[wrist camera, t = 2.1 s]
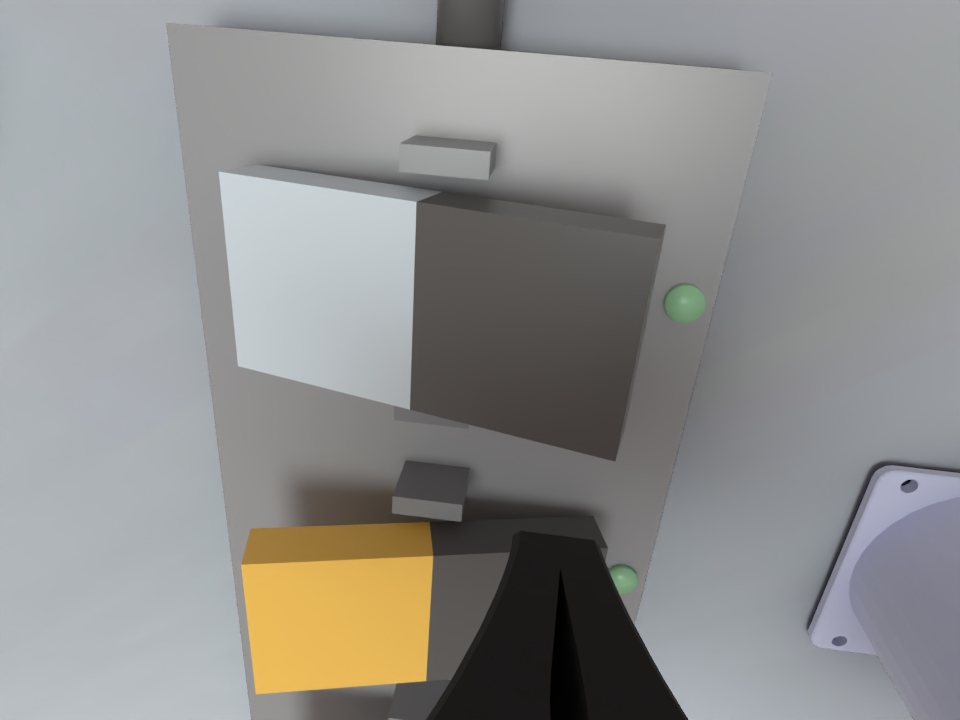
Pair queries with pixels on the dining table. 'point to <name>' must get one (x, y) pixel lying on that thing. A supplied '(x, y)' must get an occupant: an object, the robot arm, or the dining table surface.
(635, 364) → the rocker
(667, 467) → the rocker switch panel
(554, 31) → the dining table surface
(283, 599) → the block
